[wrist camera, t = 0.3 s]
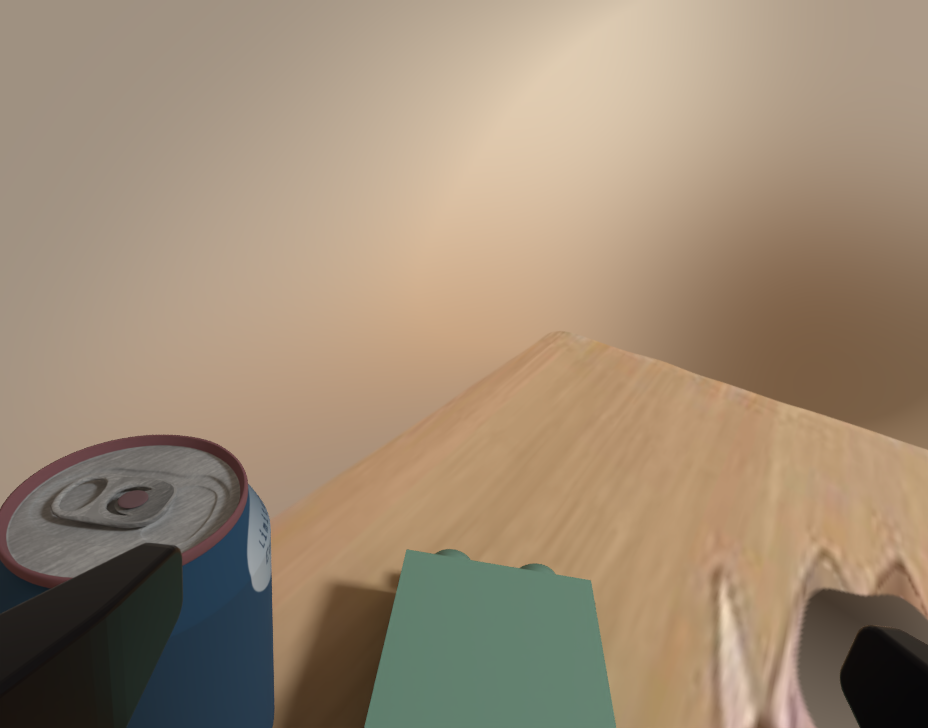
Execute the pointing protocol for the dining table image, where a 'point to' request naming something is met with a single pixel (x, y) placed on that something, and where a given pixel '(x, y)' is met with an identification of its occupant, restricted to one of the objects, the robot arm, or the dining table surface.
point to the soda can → (203, 562)
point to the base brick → (490, 649)
